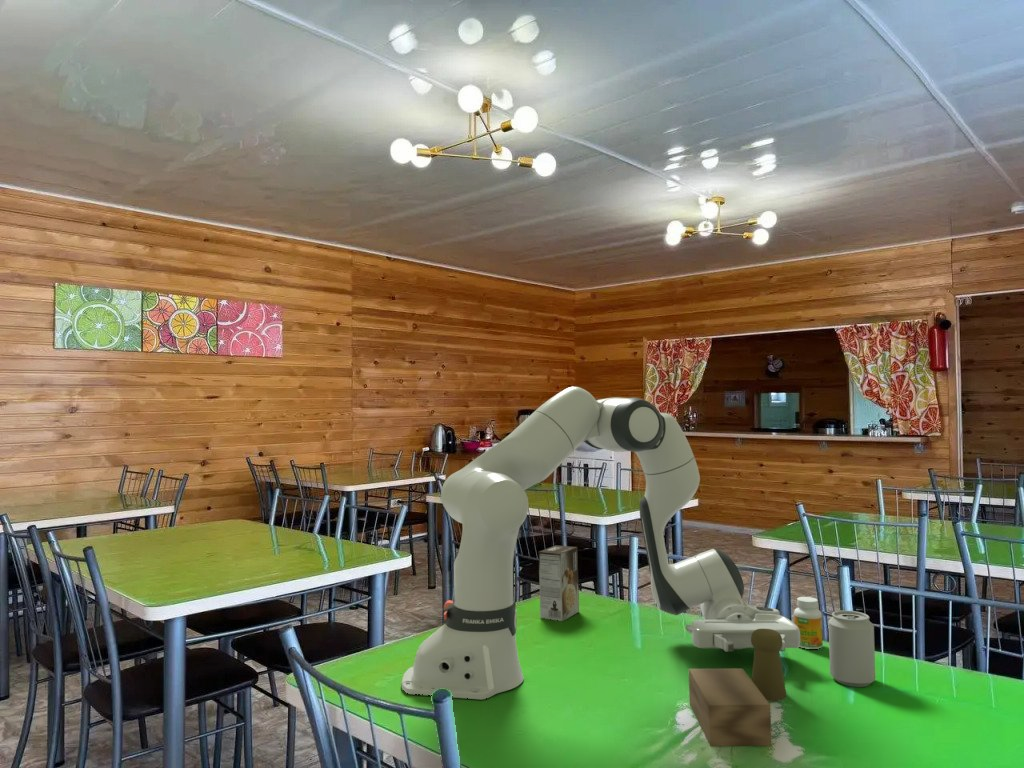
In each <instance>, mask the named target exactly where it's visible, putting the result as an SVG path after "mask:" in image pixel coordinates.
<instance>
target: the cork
mask: <svg viewBox="0 0 1024 768" xmlns="http://www.w3.org/2000/svg"><path fill="white" fill-rule="evenodd" d="M751 643H752V646H753V647H754V648H753V649H754V651H753V652H754V653H753V660H752V661H753V662H752V670H751V671H752V672H751V680H752V682H753V683H754V684H755V686H756V687H757V688H758V689H759V691H760V692H761V693H762V695H763V696H764V697H765V699H766V700H767V701H768V702H769V701H770V702H778V701H783V700H786V698H787V689H786V684H785V679H784V671H783V665H782V660H781V654H780V653H781V651H780V649H781V648H782V637H781V635H780V633H778V632H777V631H775V630H772V629H757V630H755V631H753V633H752V636H751Z"/></svg>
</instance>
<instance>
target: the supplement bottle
mask: <svg viewBox="0 0 1024 768" xmlns="http://www.w3.org/2000/svg"><path fill="white" fill-rule="evenodd" d="M796 601H797V602H796V604H797V606H798V607H796V608H795V609H794V612H793V618H794V619H793V623H794V624H795V625H796V626H798V628H799V630H800V646H799V647H802V648H809V649H818V648H821V647H822V646H823V645H824V644H823V643H824V642H823V614H822V611H821V610H819V609H818V608H819V600H818V599H817V598H815V597H810V596H799V597H797V598H796ZM799 647H798V648H799ZM802 648H801V649H802ZM822 648H823V647H822ZM822 648H821V649H822ZM818 650H819V649H818Z"/></svg>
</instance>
